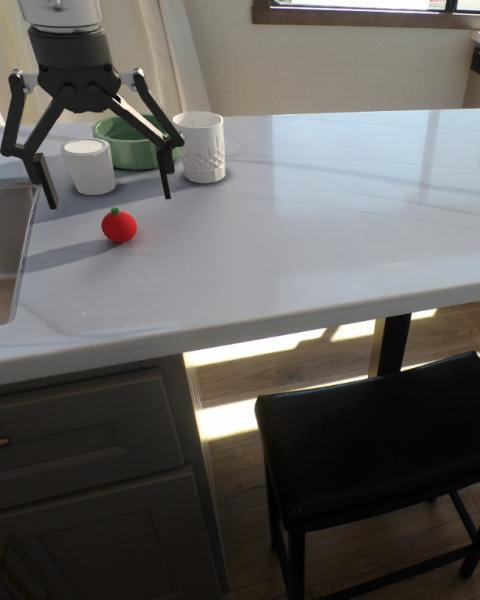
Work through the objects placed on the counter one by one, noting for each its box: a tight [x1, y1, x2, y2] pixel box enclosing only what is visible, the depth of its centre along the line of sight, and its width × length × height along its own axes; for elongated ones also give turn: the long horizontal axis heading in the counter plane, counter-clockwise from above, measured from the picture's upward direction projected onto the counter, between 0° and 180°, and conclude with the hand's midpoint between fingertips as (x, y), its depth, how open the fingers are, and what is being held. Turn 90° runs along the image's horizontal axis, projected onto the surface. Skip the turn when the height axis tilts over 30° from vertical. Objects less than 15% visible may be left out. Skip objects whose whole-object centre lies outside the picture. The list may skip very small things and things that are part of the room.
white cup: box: [171, 110, 226, 184], centre depth 89 cm, size 8×8×10 cm
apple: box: [100, 206, 138, 243], centre depth 72 cm, size 4×4×5 cm
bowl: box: [91, 112, 180, 171], centre depth 93 cm, size 14×14×6 cm
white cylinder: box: [59, 137, 117, 196], centre depth 83 cm, size 7×7×7 cm
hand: (113, 200), depth 70 cm, fingers open, 13 cm apart
